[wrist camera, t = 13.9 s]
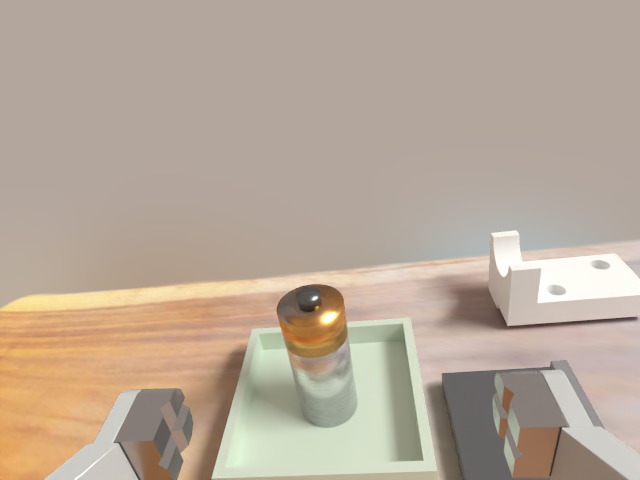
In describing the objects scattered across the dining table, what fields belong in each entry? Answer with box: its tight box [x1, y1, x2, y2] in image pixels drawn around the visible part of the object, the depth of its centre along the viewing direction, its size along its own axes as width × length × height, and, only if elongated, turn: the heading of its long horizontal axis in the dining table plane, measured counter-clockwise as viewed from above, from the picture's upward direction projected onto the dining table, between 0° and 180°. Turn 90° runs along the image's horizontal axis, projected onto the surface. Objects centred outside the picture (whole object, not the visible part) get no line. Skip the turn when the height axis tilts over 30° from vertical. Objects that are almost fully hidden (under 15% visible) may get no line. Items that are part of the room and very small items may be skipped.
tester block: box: [442, 360, 605, 480], centre depth 35 cm, size 10×10×3 cm
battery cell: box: [277, 284, 358, 428], centre depth 37 cm, size 5×5×12 cm
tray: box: [211, 317, 438, 480], centre depth 39 cm, size 16×16×3 cm
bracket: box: [488, 231, 640, 326], centre depth 46 cm, size 13×7×8 cm, turn 87°
